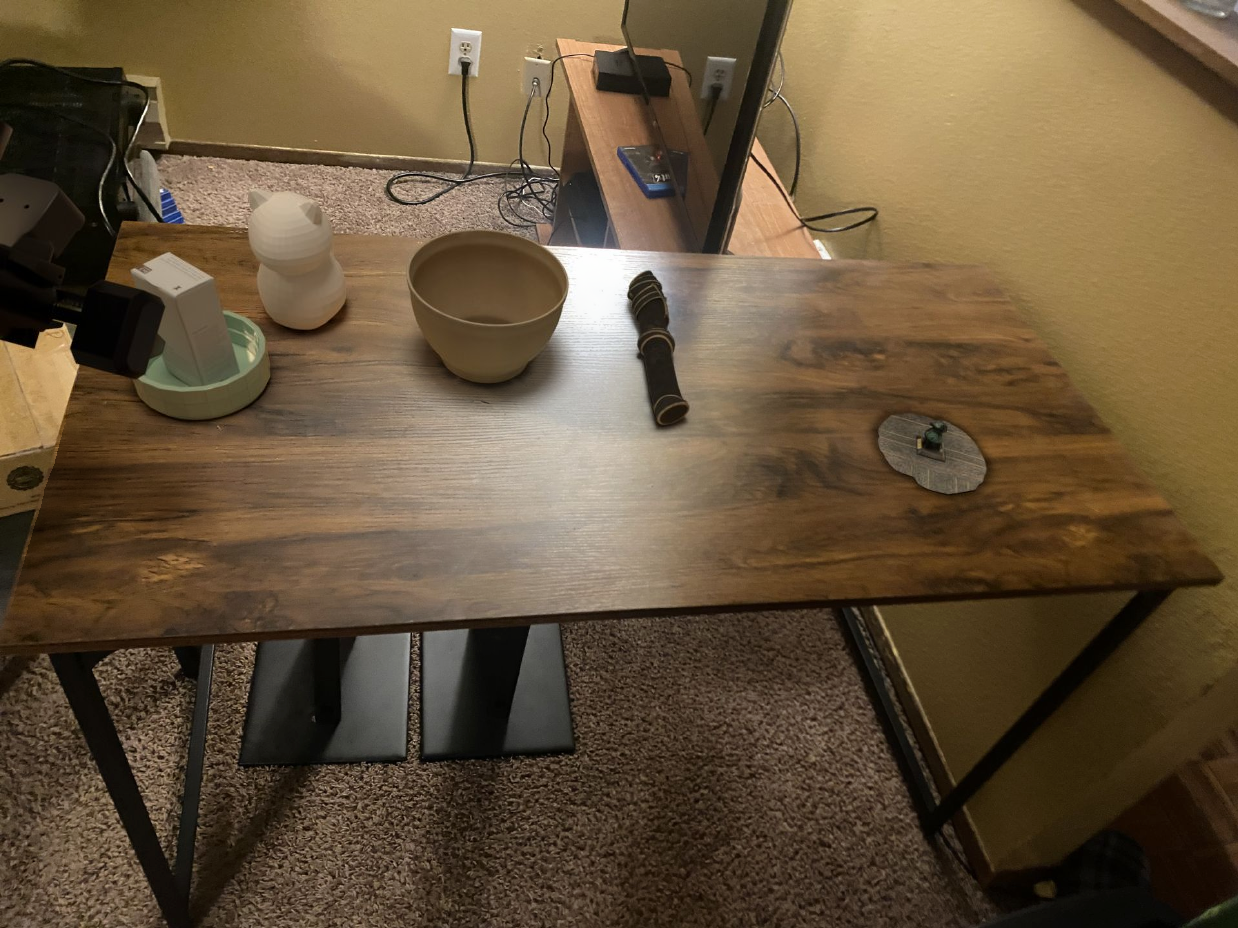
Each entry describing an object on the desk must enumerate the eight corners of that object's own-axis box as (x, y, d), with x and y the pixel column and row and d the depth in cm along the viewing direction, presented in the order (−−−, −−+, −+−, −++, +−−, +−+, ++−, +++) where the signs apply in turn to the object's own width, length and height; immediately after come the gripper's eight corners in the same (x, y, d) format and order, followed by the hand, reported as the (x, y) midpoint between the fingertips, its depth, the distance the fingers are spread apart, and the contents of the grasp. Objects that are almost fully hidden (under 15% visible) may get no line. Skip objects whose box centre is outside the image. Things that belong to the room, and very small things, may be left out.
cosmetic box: (243, 377, 83) (219, 276, 74) (205, 401, 80) (176, 298, 71) (200, 350, 85) (172, 248, 76) (161, 372, 82) (127, 268, 73)
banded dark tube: (698, 409, 86) (670, 266, 102) (651, 398, 84) (630, 255, 101) (682, 436, 89) (657, 293, 105) (636, 426, 87) (618, 283, 104)
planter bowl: (406, 405, 85) (402, 320, 77) (413, 307, 95) (410, 224, 87) (564, 409, 88) (575, 328, 80) (553, 314, 98) (562, 234, 90)
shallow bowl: (129, 426, 77) (117, 395, 75) (143, 342, 85) (132, 311, 82) (270, 417, 81) (264, 386, 78) (271, 336, 89) (265, 306, 86)
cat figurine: (245, 333, 88) (217, 206, 77) (291, 268, 97) (272, 145, 86) (329, 349, 88) (313, 225, 78) (368, 283, 97) (358, 163, 86)
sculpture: (857, 421, 94) (916, 375, 91) (891, 453, 100) (946, 410, 98) (914, 497, 86) (980, 449, 83) (946, 526, 92) (1009, 482, 90)
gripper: (105, 185, 52) (243, 265, 67) (-150, 125, 54) (41, 216, 70) (52, 357, 51) (204, 398, 67) (-203, 289, 53) (1, 344, 69)
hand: (112, 334), depth 68 cm, fingers open, 9 cm apart
